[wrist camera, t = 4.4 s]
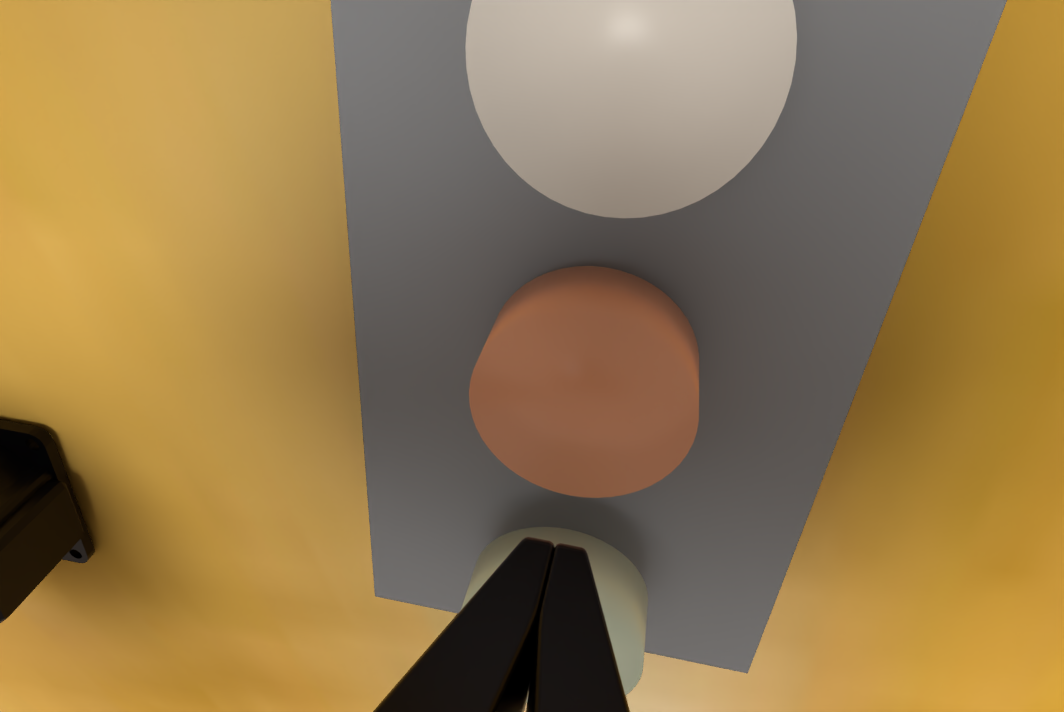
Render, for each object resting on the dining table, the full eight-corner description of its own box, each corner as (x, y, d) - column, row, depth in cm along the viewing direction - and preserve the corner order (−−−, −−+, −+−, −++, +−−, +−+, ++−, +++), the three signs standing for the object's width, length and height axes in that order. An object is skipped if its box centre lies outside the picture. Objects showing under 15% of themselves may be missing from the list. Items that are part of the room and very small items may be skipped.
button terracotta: (487, 423, 17) (466, 476, 16) (494, 251, 15) (471, 293, 13) (678, 457, 17) (676, 515, 15) (719, 284, 14) (721, 332, 13)
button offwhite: (489, 159, 13) (463, 197, 12) (501, -144, 11) (468, -146, 9) (746, 193, 13) (752, 237, 11) (821, -118, 10) (841, -114, 9)
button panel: (409, 519, 25) (375, 596, 22) (385, -240, 14) (310, -265, 11) (742, 583, 24) (747, 673, 21) (1008, -197, 13) (1089, -213, 10)
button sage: (472, 627, 20) (453, 687, 19) (476, 511, 18) (455, 570, 16) (634, 661, 20) (628, 726, 18) (662, 546, 17) (658, 610, 16)
